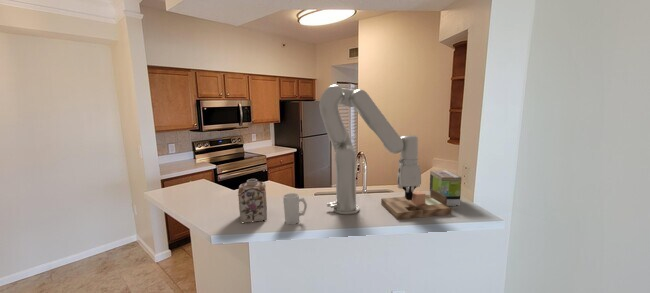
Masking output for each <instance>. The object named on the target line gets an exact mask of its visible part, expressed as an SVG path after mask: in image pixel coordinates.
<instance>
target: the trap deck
mask: <svg viewBox="0 0 650 293" xmlns="http://www.w3.org/2000/svg"><path fill="white" fill-rule="evenodd" d="M380 205H381V206H382V207H384V209H386V210H387V211H388V212H389V213H390V214H391V215H392V216H393V217H394V218H395V220H405V219H414V218H415V219H416V218H417V219H418V218H426V217H437V216H445V215H447V216H448V215H452V206H447V197H446V196H444V195H442V194H441V193H439V192H437V191H435V190H433V189H431V194H430V193H429V194H425V204H420V205H415V204H413V203H412V202H411V201H410V200H407V199H406V198H405V196H397V197H386V198H383V197H382V198H381V200H380Z"/></svg>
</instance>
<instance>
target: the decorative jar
mask: <svg viewBox="0 0 650 293" xmlns="http://www.w3.org/2000/svg"><path fill="white" fill-rule="evenodd" d="M266 190H267V189H266V183H265V182H264V181H259V180H258V179H256V178H250V179H247V180H246V182H244V183H241V184H240V185H239V186H238V192H237V196H238V207H239V208H238V209H239V219H240V224H241V223H242V222H250V223H253V222H252V221H259V222H264V221H263V220H266V221H267V220H268V217H267V216H268V205H267V191H266ZM242 224H243V223H242Z"/></svg>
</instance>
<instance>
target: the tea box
mask: <svg viewBox="0 0 650 293" xmlns="http://www.w3.org/2000/svg"><path fill="white" fill-rule="evenodd" d="M429 172H430V173H429V175H430V176H429V195H430V194H431V189H433V190H435V191H437V192H439V193H441V194H442V195H444V196H446V197H447V206H449V207H456V205H461V194H462V193H461V191H462V176H460V175H458V174H455V173H454V172H452V171H450V170H430V171H429Z"/></svg>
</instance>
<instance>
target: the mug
mask: <svg viewBox="0 0 650 293" xmlns="http://www.w3.org/2000/svg"><path fill="white" fill-rule="evenodd" d="M299 195H300V194H298V193H295V192H294V193H293V192H290V193H286V194H283V197H282V198H283V210H284V223H285V222H286V223H287V225H296V223H297V224H298V223H300V216H304V215H305V214H306V211H307V207H308V206H307V205H308V204H307V202H306V200H305V197H301V198H300V197H299ZM300 202H302V204H303V205H304V207H303V211H300ZM286 223H285V224H286Z"/></svg>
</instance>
